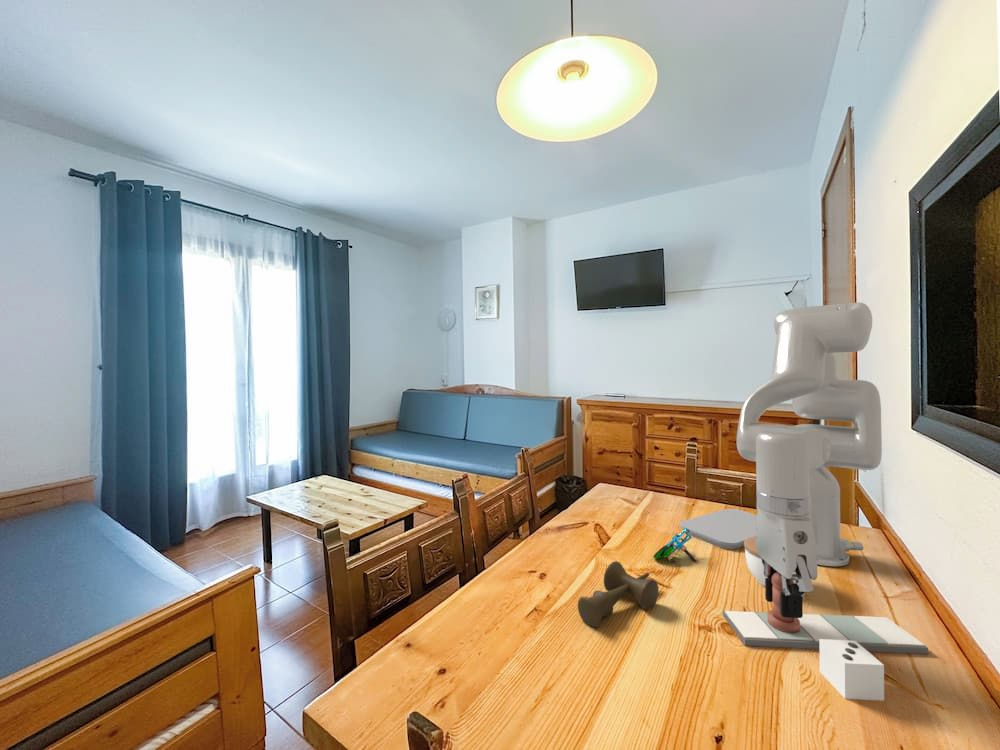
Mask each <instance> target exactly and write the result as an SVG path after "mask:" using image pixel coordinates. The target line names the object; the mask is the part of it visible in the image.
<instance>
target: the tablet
mask: <svg viewBox="0 0 1000 750" xmlns="http://www.w3.org/2000/svg"><path fill="white" fill-rule="evenodd" d="M756 523H757V514H754V513H752V512H748V511H745V510H741V509H738V508H724V509H720V510H718V511H714V512H710V513H706V514H703V515H699V516H697V517H693V518H689V519H685V520H682V521H680V522H679V527H680V528H681V529H682V532H683V531H684V530H685V529H686V528H687V529H688V530H689V531H690V532H688V531H686V532H687V533H688V534H689V535H690V536H691V537H694V538H697V539H699V540H702V541H705V542H706V543H709V544H711V545H714V546H716V547H719V548H721V549H726V550H736V549H738V548H741V547H744V541H745V540H746V539H748V538H751V537H756Z"/></svg>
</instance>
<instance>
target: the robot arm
mask: <svg viewBox="0 0 1000 750" xmlns="http://www.w3.org/2000/svg"><path fill="white" fill-rule="evenodd" d="M773 327H774V328H773V329H774V332H775V334H776V341H775V346H774V347H775V348H774V354H773V355H774V356H773V363H772V372H771V373H772V374H771V376H770V377H769V379H767V380H765V381H764V382H763V383H761V384H760V385H759V386H757V387H756V388H755V389H754V390H753V391H752V392H751V393H750V395H749V396H748V397H747V398H746V400H745V401H744V403H743V405H742V407H741V410H740V414H739V419H738V424H737V430H736V431H737V432H736V442H735V443H736V449H737V452H738V453H739V455H740V456H741V457H742V458H743V459H745V460H747V461H750V462H753V463H754V462H755V464H756V465H755V467H756V468H755V471H756V472H755V474H756V475H755V477H756V479H755V480H756V483H755V484H756V489H755V490H756V491H755V492H756V495H755V497H756V509H757V513H756V515H757V523H756V548H757V552H758V554H759V556H760V557H761V558H762V563H763V565H764V576H765V577H768V578H765V586H764V589H765V591H764V592H765V595H764V596H765V600H766V601H767V602H768V603H773V592H772V586H773V584H772V576H773V574H775V573H776V572H779V573H780V574H781V577H782V587H783V592H780V614H781V615H782V616H783V617H785V618H802V617H803V614H804V613H803V606H804V605H803V603H804V602H803V599H804V598H803V597H805V593H808V592H813V591H814V587H813V582H812V581H816V580H817V578H818V574H819V573H818V571H819V570H818V565H819V566H824V567H843V566H847V565H849V563H850V556H849V555H848V553H847V552H849V551H863V550H864V545H863V544H862V542H860V541H849V540H848V538H841V488H840V483H839V482H838V480H837V478H836V477H835V476H834V475H833V474H832V473H831V471H830V470H829V469H828V468H827V467H837V468H844V469H851V470H861V471H872V470H873V471H874V470H875V469H877V468H879V466H880V464H881V461H882V453H883V452H882V450H883V447H882V446H883V445H882V444H883V443H882V441H883V440H882V405H881V396H880V392H879V389H878V387H877V386H876V385H875V384H874V383H873V382H871V381H867V380H863V379H838V377H837V365H836V364H837V360H836V357H835V355H834V354H835V353H837V354H838V353H856V352H859V351H860V352H861V351H862V350H864V349H865V348H866V346H867V344H868V342H869V340H870V336H871V332H872V328H873V315H872V311H871V309H870V308H869V306H868V305H867V304H865V303H863V302H849V303H848V302H847V303H837V304H827V305H826V304H825V305H815V306H803V307H796V308H791V309H790V308H789V309H785V310H783V311H781V312H778V313H777V314H776V315H775V317H774V320H773ZM790 400H791V405H792V409H793V412H794V414H795V415H796V416H798V417H801V418H804V419H812V420H821V421H822V420H824V421H841V422H848V423H852V424H853V426H839V425H832V424H831V425H830V424H829V425H828V424H813V423H812V424H811V423H802V424H796V425H787V424H775V423H772V424H771V423H759V420H760V417H761V416H762V415H763V414H764V413H765V412H766V411H767V410H768V409H770V408H772V407H774V406H776V405H780V404H781V403H784V402H787V401H790ZM794 572H796V574H792V573H794ZM789 580H796V583H792V584H791V585H790V584H789Z"/></svg>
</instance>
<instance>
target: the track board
mask: <svg viewBox="0 0 1000 750" xmlns="http://www.w3.org/2000/svg"><path fill="white" fill-rule="evenodd" d="M768 612H769V611H767V612H766V611H764V612H763V611H744V610H743V611H742V610H741V611H739V610H723V611H722V617H723V619H725V621H726V622H727V624H729V626H730V627H731V629H732V630H733V632H734V633H735V634H736V636H737V637H738V639H740V641H741V642H742V643H743V645H744V647H745V646H746V647H747V646H749V647H765V648H766V647H769V648H789V649H808V650H809V649H811V650H819V639H830V640H853V641H856V642H857V643H859V644H860V645H861V646H862V647H863V648H864V649H866V650H867V651H868V652H870V653H871V652H873V653H874V652H875V653H898V654H914V655H915V654H916V655H917V654H918V655H919V654H920V655H929V647H928V646H926V645H925V643H923V642H921V641H920V640H918V639H917V638H915V637H914V636H913V635H912V634H910V633H909V632H907V631H906V630H904V629H903V628H902V627H901V626H899V625H898V624H896V623H895V622H893V621H892V620H890V619H889V618H888V617H886V616H876V615H875V616H874V615H873V616H871V615H870V616H869V615H848V614H847V615H846V614H845V615H844V614H841V615H840V614H822V613H817V614H816V613H803V617H802V618H798V619H799V621H800V631H799V632H797V633H788V632H784V631H781V630H778V629H776V628H774V627H773V626H771V625H770V624H769V623H768V618H767V613H768Z"/></svg>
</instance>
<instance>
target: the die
mask: <svg viewBox="0 0 1000 750" xmlns="http://www.w3.org/2000/svg"><path fill="white" fill-rule="evenodd" d="M818 650H819V673H821V675H822V676H824V678H825V679H826V680H827V681H828V683H830V684H831V685H832V686H833V687H834V689H836V690H837V692H838V693H839V694H840V695H841V696H842V697H843V698H844V699H848V700H864V701H865V700H866V701H883V702H884V701H885V665H884V663H882V662H881V661H880V659H877V658H876V657H875V656H874V655H873V654H872V653H871V652H870V651H867V650H866V649H864V648H863V647H862V646H861V645H860V644H859V643H857V642H856V641H853V640H830V639H819V649H818Z"/></svg>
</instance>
